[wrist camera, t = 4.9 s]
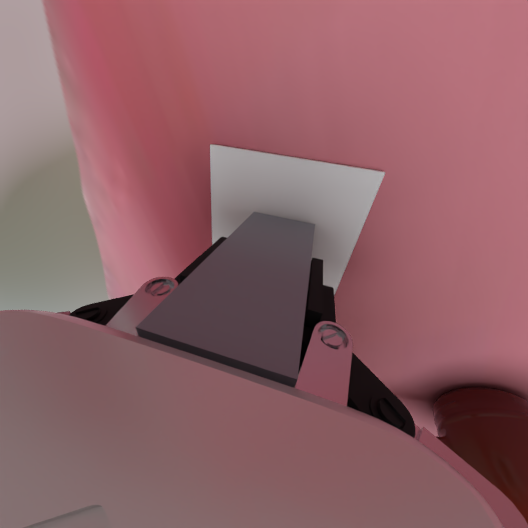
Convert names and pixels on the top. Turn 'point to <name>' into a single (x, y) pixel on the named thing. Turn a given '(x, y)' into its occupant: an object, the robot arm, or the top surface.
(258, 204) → the mat
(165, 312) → the dark grey rectangular prism
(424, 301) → the top surface
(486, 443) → the mug
